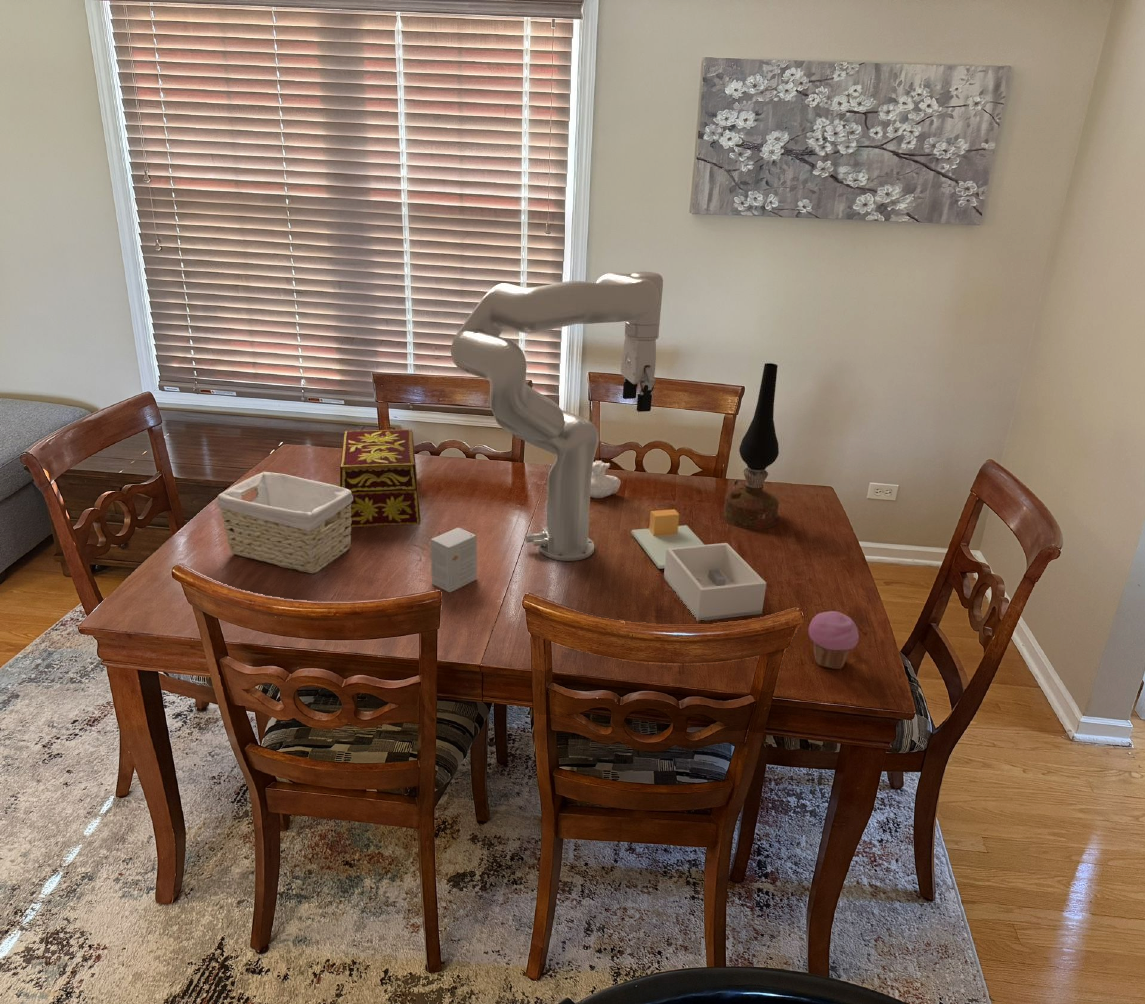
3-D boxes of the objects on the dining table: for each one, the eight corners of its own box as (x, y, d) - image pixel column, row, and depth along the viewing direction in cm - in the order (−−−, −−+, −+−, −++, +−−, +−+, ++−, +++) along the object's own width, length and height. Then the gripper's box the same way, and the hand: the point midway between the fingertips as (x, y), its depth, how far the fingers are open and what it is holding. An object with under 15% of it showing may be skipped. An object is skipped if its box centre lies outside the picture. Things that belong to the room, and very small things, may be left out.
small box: (459, 570, 179) (458, 526, 175) (477, 579, 176) (477, 534, 172) (430, 584, 173) (429, 538, 169) (449, 593, 170) (448, 547, 166)
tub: (761, 613, 168) (766, 583, 165) (697, 621, 164) (701, 590, 162) (723, 571, 184) (726, 542, 181) (663, 577, 180) (666, 548, 177)
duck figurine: (573, 501, 221) (572, 480, 211) (576, 476, 224) (575, 454, 214) (619, 505, 220) (620, 484, 210) (621, 480, 223) (622, 458, 213)
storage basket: (360, 548, 187) (355, 487, 181) (315, 580, 173) (309, 515, 167) (271, 528, 194) (264, 468, 188) (221, 557, 180) (212, 494, 174)
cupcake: (855, 679, 149) (865, 631, 145) (805, 672, 150) (814, 625, 146) (849, 652, 157) (858, 605, 153) (801, 645, 158) (810, 599, 154)
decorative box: (421, 524, 199) (419, 465, 193) (340, 528, 196) (335, 468, 190) (417, 480, 224) (415, 427, 218) (345, 483, 220) (341, 429, 214)
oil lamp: (783, 530, 213) (840, 380, 199) (753, 539, 201) (812, 380, 187) (737, 507, 220) (789, 361, 207) (707, 514, 209) (760, 360, 195)
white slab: (717, 566, 186) (720, 539, 184) (658, 571, 183) (661, 544, 180) (685, 531, 202) (688, 506, 199) (631, 536, 198) (633, 510, 196)
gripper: (613, 322, 191) (609, 394, 198) (639, 339, 176) (633, 417, 183) (644, 321, 193) (638, 393, 200) (672, 338, 178) (665, 415, 185)
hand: (636, 404), depth 192 cm, fingers open, 9 cm apart
